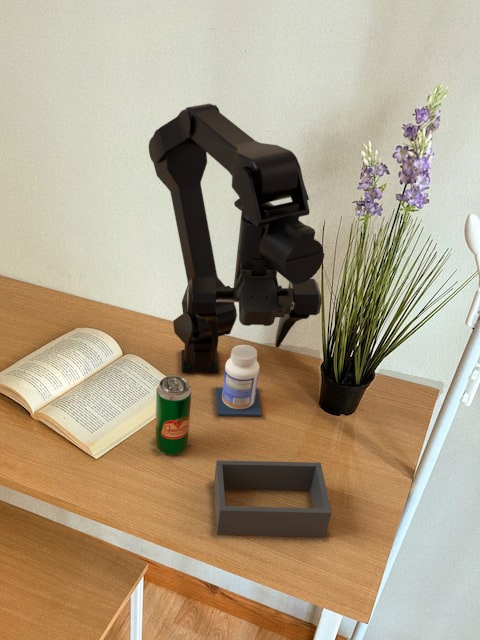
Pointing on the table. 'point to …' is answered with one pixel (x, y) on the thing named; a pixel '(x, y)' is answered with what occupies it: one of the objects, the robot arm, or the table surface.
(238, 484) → the tub
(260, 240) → the robot arm
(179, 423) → the soda can
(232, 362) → the pill bottle
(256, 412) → the mat
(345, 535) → the table surface
